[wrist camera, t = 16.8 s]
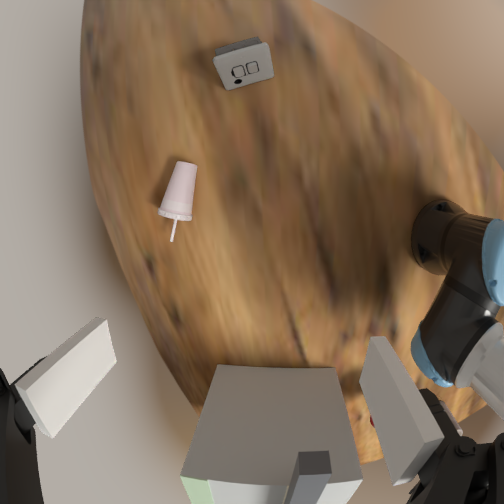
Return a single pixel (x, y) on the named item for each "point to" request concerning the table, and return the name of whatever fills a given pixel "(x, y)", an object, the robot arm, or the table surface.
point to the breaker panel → (269, 436)
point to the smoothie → (179, 194)
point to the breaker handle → (309, 477)
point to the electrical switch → (243, 63)
